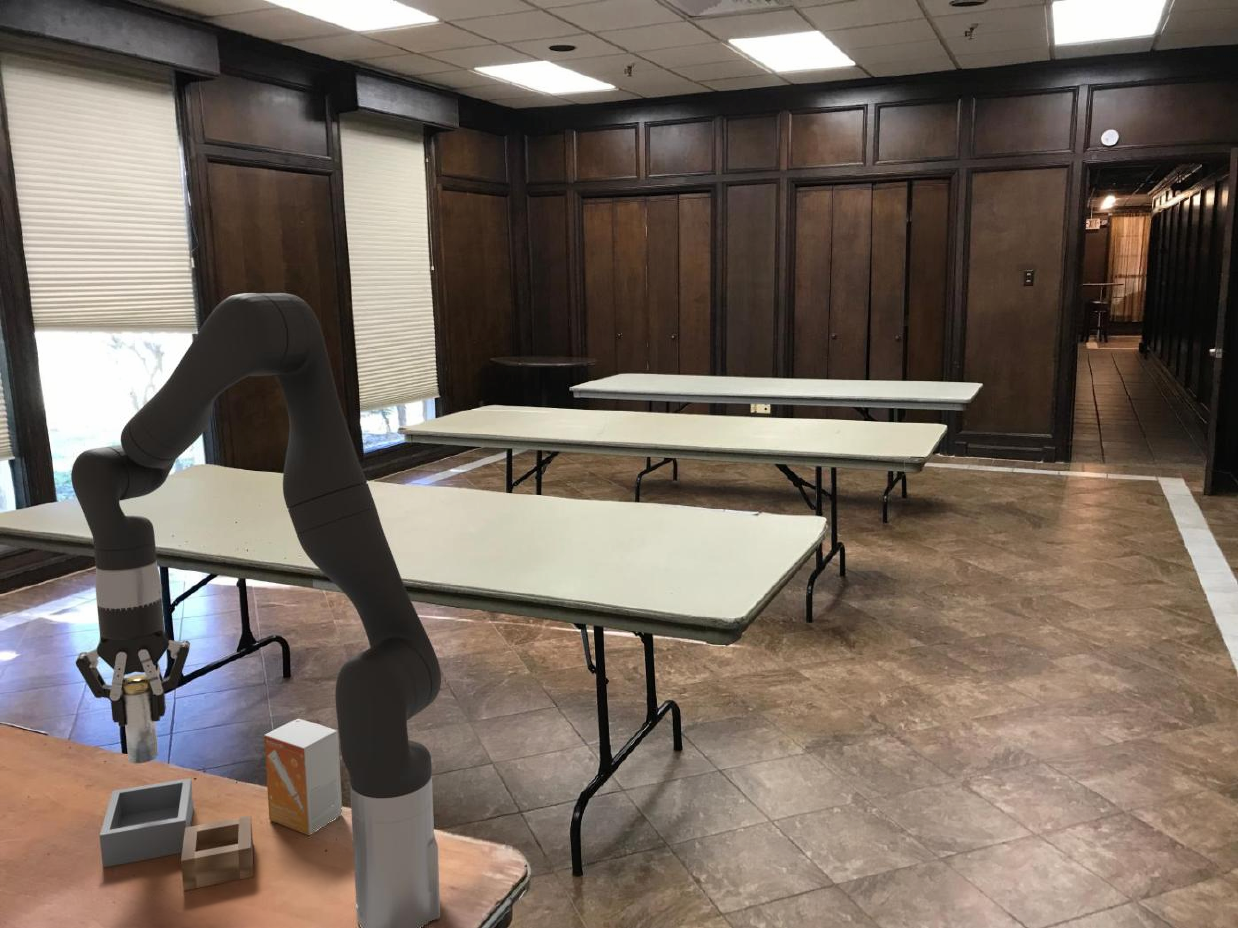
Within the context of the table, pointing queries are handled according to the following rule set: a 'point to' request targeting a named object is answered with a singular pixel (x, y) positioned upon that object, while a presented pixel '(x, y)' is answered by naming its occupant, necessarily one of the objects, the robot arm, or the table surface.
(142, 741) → the gold lid glass jar
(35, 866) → the table surface
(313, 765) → the small box
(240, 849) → the collar
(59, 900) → the table surface
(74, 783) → the table surface
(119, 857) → the tray
